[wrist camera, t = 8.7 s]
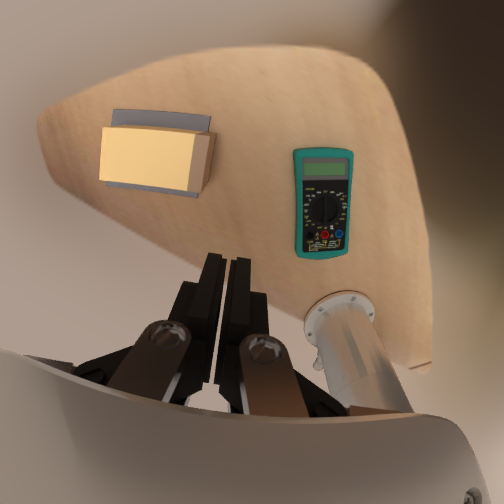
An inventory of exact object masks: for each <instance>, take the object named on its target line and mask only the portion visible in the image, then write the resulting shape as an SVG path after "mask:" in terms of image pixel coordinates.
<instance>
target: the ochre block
mask: <svg viewBox="0 0 504 504" xmlns="http://www.w3.org/2000/svg"><path fill="white" fill-rule="evenodd" d="M215 139H216V133H210V132H202V131H194V130H186V129H177V128H166V127H154V126H140V125H119V126H110V127H103V133H102V144H101V159H100V180H104V181H114V182H123V183H131V184H139V185H147V186H155V187H163V188H170V189H177V190H184V191H190V192H197V193H201V192H202V191H203V189H204V187H205V186H206V184H207V182H208V181H209V175H210V169H211V162H212V156H213V151H214V145H215Z"/></svg>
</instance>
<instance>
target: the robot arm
mask: <svg viewBox="0 0 504 504" xmlns="http://www.w3.org/2000/svg"><path fill="white" fill-rule="evenodd" d="M226 263H227V259H224V258H222V255H221V254H215V253H208V255H207V258H206V261H205V264H204V267H203V270H202V273H201V276H200V279H199V283H193V282H188V281H184V282H183V283H182V285H181V288H180V290H179V293H178V295H177V297H176V300H175V302H174V305H173V307H172V310H171V312H170V315H169V318H168V320H159V321H155V322H153V323H151V324H149V325H148V326H147V327H146V328H145V330H144V331H143V333H142V334H141V335H140V337H139V338H138V340H137V341H136V342H135V344H134V345H133V346H130V347H127V348H124V349H122V350H119V351H116V352H113V353H110V354H108V355H105V356H102V357H99V358H96V359H93V360H90V361H87V362H85V363H83V364H81V365H79V366H78V367H75V366H74V364H73V363H70V362H63V361H56V360H51V359H46V358H40V357H34V356H30V355H20V354H17V353H14V352H11V351H7V350H2V349H0V504H491V501H490V498H489V494H488V490H487V487H486V483H485V480H484V477H483V474H482V471H481V469H480V466H479V464H478V461H477V458H476V456H475V454H474V451H473V449H472V447H471V445H470V444H469V441H468V440H467V438H466V436H465V435H464V433H463V432H462V430H461V429H460V428H459V427H458V426H457V424H455V423H454V422H452V421H450V420H448V419H446V418H443V417H439V416H434V415H429V414H418V413H415V412H414V411H413V409H412V407H411V405H410V403H409V400H408V398H407V396H406V394H405V392H404V390H403V388H402V386H401V383H400V381H399V379H398V377H397V375H396V373H395V370H394V368H393V366H392V364H391V362H390V360H389V357H388V355H387V353H386V351H385V349H384V347H383V345H382V343H381V341H380V339H379V337H378V335H377V333H376V331H375V329H374V327H373V325H372V324H373V322H374V317H375V310H374V306H373V305H372V303H371V301H370V300H369V299H368V297H366V296H365V295H363V294H361V293H359V292H354V291H343V292H338V293H335V294H331V295H329V296H327V297H325V298H323V299H322V300H320V301H319V302H318V303H316V304H315V305H314V306H313V307H312V308H311V310H310V311H309V312H308V314H307V316H306V318H305V321H304V332H305V336H306V338H307V340H308V341H309V342H310V343H311V344H312V345H314V346H316V347H317V348H318V354H317V355H318V357H317V359H316V361H315V362H314V364H313V368H314V369H315V370H318V371H320V370H322V369H323V368H324V372H325V375H326V380H327V383H328V388H329V392H330V395H329V394H328V393H326V392H325V391H323V390H322V389H320V388H319V387H318V386H316V385H315V384H314V383H312V382H311V381H309V380H308V379H307V378H305V377H304V376H303V375H301V374H300V373H299V372H297V371H296V370H294V369H293V366H292V363H291V360H290V357H289V354H288V351H287V349H286V347H285V345H284V344H283V343H282V342H281V341H280V340H278V339H276V338H275V337H272V336H269V324H268V310H267V295H266V293H259V292H252V291H250V275H251V259H247V258H241V257H237V260H231V265H230V271H229V277H228V284H227V291H226V297H225V303H224V311H223V317H222V324H221V331H220V339H219V346H218V354H217V361H216V369H215V378H214V384H218V385H220V386H219V393H220V394H221V395H222V396H223V397H224V398H225V399H226V400H227V401H228V413H226V412H218V411H211V410H205V409H198V408H193V407H187V406H188V403H189V400H190V395H192V394H194V393H196V392H198V391H200V390H202V385H203V382H205V383H209V379H210V371H211V365H212V359H213V352H214V346H215V340H216V333H217V327H218V321H219V314H220V307H221V299H222V292H223V284H224V277H225V270H226Z"/></svg>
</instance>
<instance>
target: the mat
mask: <svg viewBox="0 0 504 504" xmlns="http://www.w3.org/2000/svg"><path fill="white" fill-rule="evenodd" d="M210 118H211V116H204V115H195V114H186V113H176V112H164V111H148V110H116V109H113V114H112V122H111V126H119V125H140V126H154V127H166V128H177V129H186V130H194V131H202V132H208V129H209V123H210ZM107 186H112V187H120V188H129V189H137V190H144V191H152V192H159V193H166V194H173V195H180V196H187V197H193V198H198V193H197V192H190V191H184V190H177V189H170V188H163V187H155V186H147V185H139V184H131V183H123V182H114V181H107Z"/></svg>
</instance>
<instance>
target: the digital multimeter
mask: <svg viewBox="0 0 504 504" xmlns="http://www.w3.org/2000/svg"><path fill="white" fill-rule="evenodd" d="M293 156H294V169H295V183H296V237H295V251H296V254H297V256H298V257H300V258H307V259H329V258H333V257H337V256H340V255H344V254H346V253H347V252H348V242H349V219H350V201H351V185H352V172H353V158H354V154H353V152H352V151H350V150H347V149H341V148H329V147H314V148H302V149H295V150H294V152H293ZM302 182H303V187H302ZM335 219H336V220H335ZM319 223H320V224H319ZM302 235H303V243H302ZM322 251H324V252H322Z"/></svg>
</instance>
